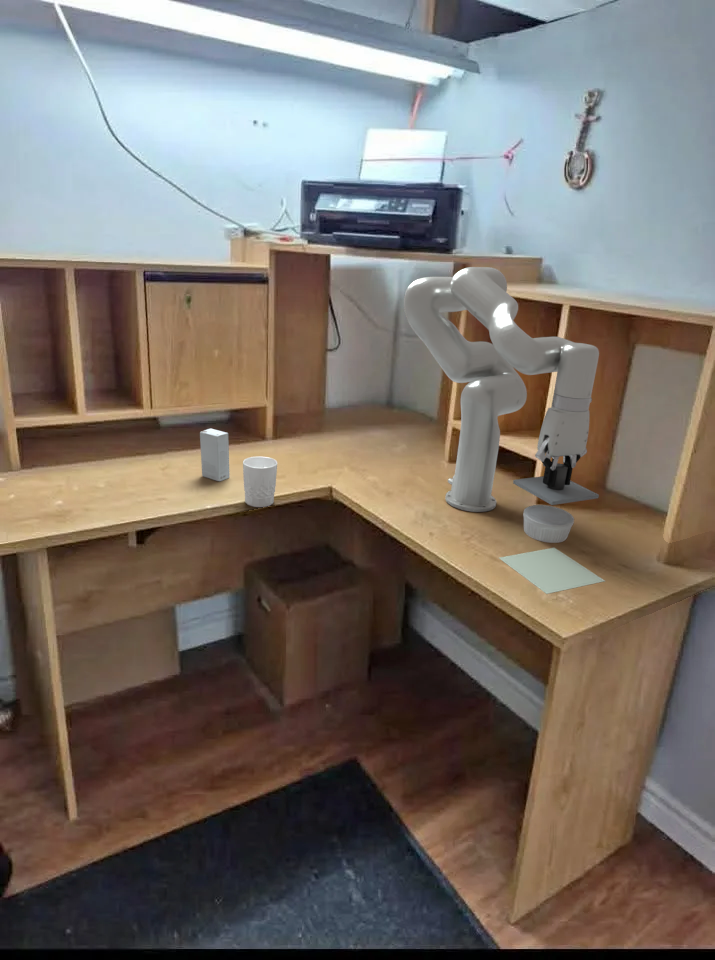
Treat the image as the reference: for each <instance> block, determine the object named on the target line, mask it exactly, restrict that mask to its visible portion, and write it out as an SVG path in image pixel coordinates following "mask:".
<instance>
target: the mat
mask: <svg viewBox="0 0 715 960" xmlns="http://www.w3.org/2000/svg"><path fill="white" fill-rule="evenodd" d="M498 559H499V560H501V561H502V562H503V563H505V564H506V565H507V566H509V567H510V568H511V569H513V570H514V571H515V572H517V573H518V574H519V575H521V576H522V577H523V578H524V579H525V580H527V581H528V582H530V584H533V585H534V586H535V587H537V588H538V589H539V590H541V591H542V592H543V593H545V594H546V595H548V594H553V593H557V592H562V591H567V590H571V589H575V588H580V587H585V586H589V585H593V584H597V583H598V584H599V583H602V582H603V583H604V582H606V580H604V579H603V578H602V577H600V576H599V575H597V574H595V573H594V572H592V571H591V570H590V569H588V568H586V567H585V566H583V565H582V564H580V563H579V562H577V561H576V560H575V559H572V558H571V557H570V556H568V555H567V554H565V553H563V552H562V551H561V550H559V549H558V548H556V547H551V548H550V547H549V548H544V549H538V550H534V551H527V552H524V553H523V552H522V553H517V554H516V553H515V554H512V555H507V556H501V557H498Z"/></svg>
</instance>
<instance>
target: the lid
mask: <svg viewBox="0 0 715 960" xmlns="http://www.w3.org/2000/svg"><path fill="white" fill-rule="evenodd" d="M567 469H568V466H566V465H564V464H563V463H560V462H559V463H558V462H557V465H556V468H555V470H557V476H556V481H555V486H554V487H550V486H548V485H546V484H544V483H543V477H544V475H543V476H535V477H534V476H533V477H527V478H519V479H513V480H512V484H513V485H515V486H517V487H519V488H520V489H522V490H524V491H526V492H528V493H529V494H532V495H533V496H534V497H537V498H539V499H540V500H542V501H544V502H546V503H548V505H550V506H556V505H562V504H568V503H575V502H580V501H581V502H582V501H583V502H584V501H588V500H596V499H599V497H600V495H599V494H598V493H597V492H594V491H593V490H590V489H588V488H586V487H584V486H582V485H580V484H579V483H576V482H574V481H572V480H570V485H565V480H566V475H567Z"/></svg>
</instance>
